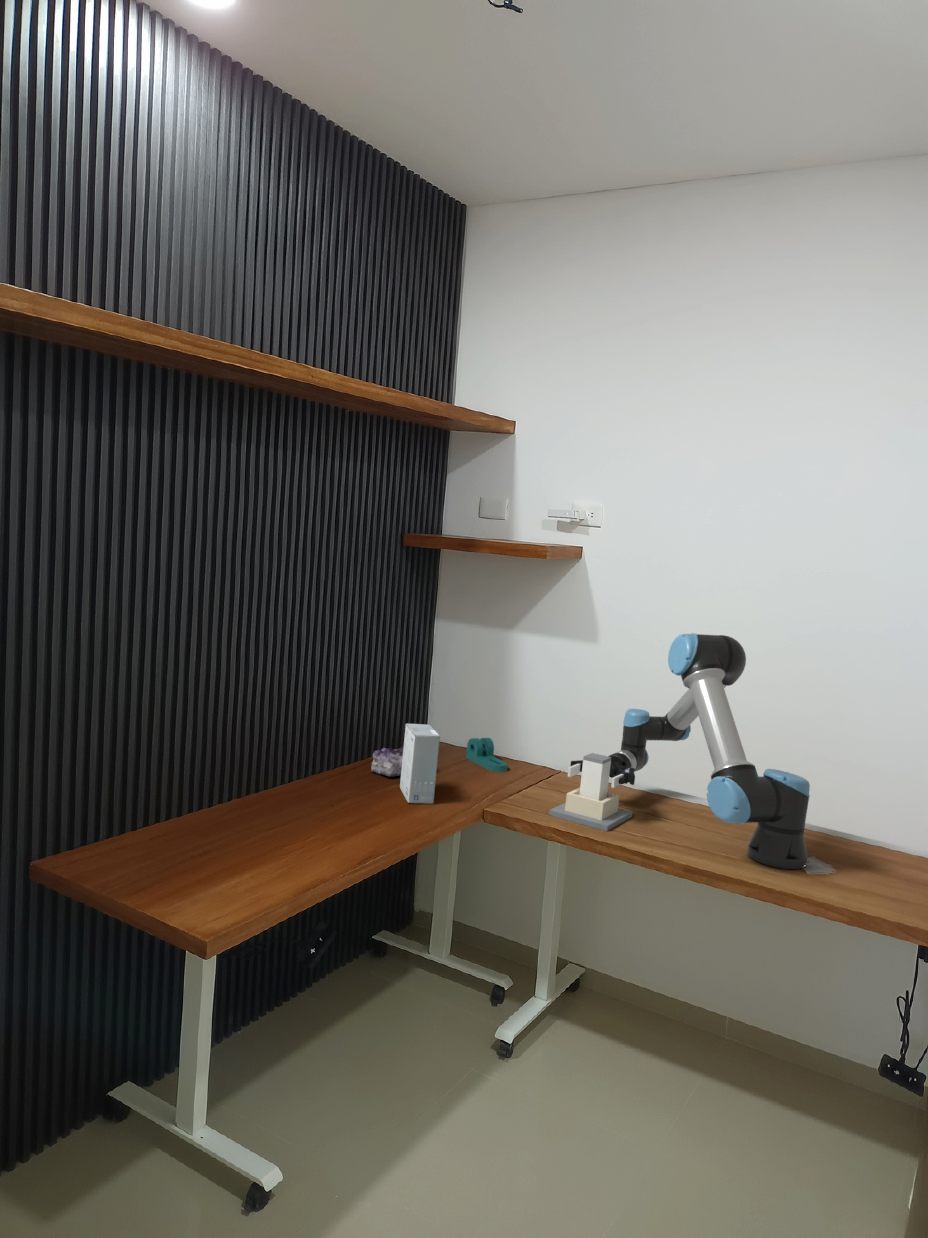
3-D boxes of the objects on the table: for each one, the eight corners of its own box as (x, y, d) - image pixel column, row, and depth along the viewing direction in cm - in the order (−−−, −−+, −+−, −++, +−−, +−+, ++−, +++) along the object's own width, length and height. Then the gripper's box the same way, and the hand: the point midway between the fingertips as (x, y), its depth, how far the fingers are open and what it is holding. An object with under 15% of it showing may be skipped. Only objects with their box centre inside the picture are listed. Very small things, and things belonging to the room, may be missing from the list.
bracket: (465, 758, 312) (468, 736, 311) (482, 757, 315) (484, 735, 315) (493, 773, 297) (496, 749, 296) (510, 771, 300) (513, 748, 299)
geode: (419, 766, 296) (425, 737, 294) (437, 780, 287) (443, 751, 285) (364, 768, 285) (370, 738, 283) (381, 783, 276) (387, 752, 274)
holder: (631, 817, 262) (634, 795, 262) (607, 831, 247) (609, 808, 246) (576, 802, 272) (578, 781, 271) (548, 815, 257) (551, 793, 256)
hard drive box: (434, 804, 256) (440, 736, 254) (407, 804, 254) (414, 735, 252) (423, 788, 271) (429, 723, 269) (398, 787, 269) (404, 722, 267)
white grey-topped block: (605, 811, 260) (611, 757, 259) (596, 815, 255) (602, 760, 254) (586, 806, 263) (592, 753, 262) (577, 810, 258) (583, 756, 257)
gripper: (657, 786, 267) (630, 800, 249) (581, 767, 280) (550, 780, 262) (660, 761, 266) (633, 774, 249) (583, 744, 280) (553, 755, 262)
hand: (590, 777), depth 255 cm, fingers open, 13 cm apart
